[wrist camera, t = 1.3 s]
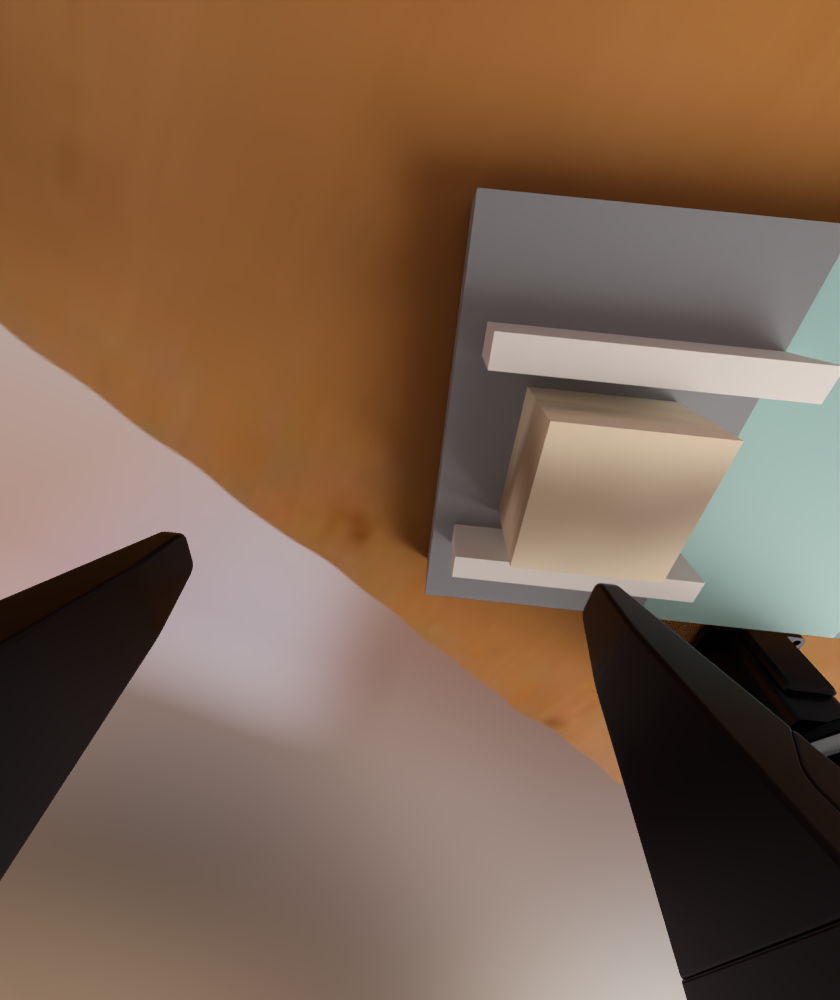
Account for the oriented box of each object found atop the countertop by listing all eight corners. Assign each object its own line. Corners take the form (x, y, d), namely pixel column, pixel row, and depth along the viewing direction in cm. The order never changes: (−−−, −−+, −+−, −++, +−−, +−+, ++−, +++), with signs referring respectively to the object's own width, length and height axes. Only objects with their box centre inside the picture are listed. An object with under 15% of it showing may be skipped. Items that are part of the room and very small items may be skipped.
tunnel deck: (928, 612, 24) (1045, 697, 19) (427, 559, 24) (422, 629, 19) (1301, 283, 14) (1711, 291, 10) (471, 201, 15) (483, 170, 10)
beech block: (622, 524, 18) (662, 583, 15) (498, 511, 18) (510, 566, 15) (677, 401, 15) (744, 441, 12) (527, 386, 15) (550, 421, 12)
